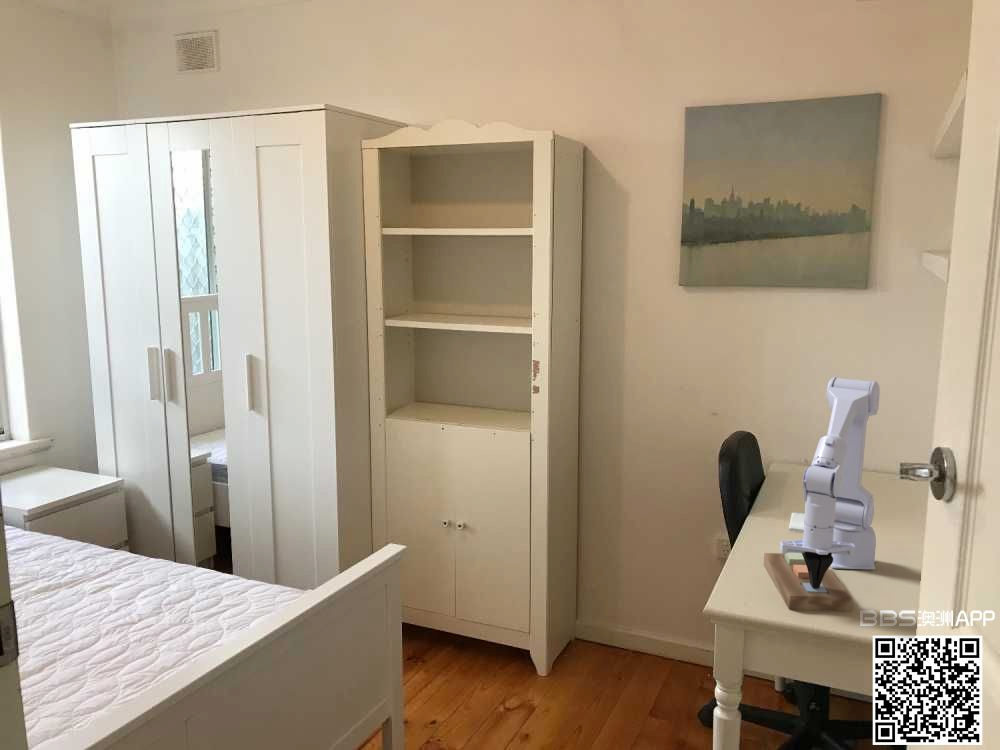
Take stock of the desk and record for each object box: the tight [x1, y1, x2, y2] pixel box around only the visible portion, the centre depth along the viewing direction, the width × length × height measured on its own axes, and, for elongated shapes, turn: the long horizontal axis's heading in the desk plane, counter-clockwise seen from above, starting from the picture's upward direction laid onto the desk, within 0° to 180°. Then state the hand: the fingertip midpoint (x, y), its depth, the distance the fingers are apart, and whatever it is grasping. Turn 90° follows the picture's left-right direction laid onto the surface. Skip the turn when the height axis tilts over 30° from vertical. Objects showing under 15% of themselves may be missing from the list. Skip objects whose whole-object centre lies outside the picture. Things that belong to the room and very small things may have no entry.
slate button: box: [802, 583, 828, 593], centre depth 168 cm, size 4×4×2 cm
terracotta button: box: [793, 565, 809, 578], centre depth 174 cm, size 4×4×2 cm
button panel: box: [763, 552, 852, 613], centre depth 175 cm, size 12×22×3 cm, turn 175°
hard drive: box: [788, 512, 805, 533], centre depth 211 cm, size 2×8×12 cm
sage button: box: [784, 552, 806, 565], centre depth 181 cm, size 4×4×2 cm
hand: (814, 586), depth 168 cm, fingers closed
